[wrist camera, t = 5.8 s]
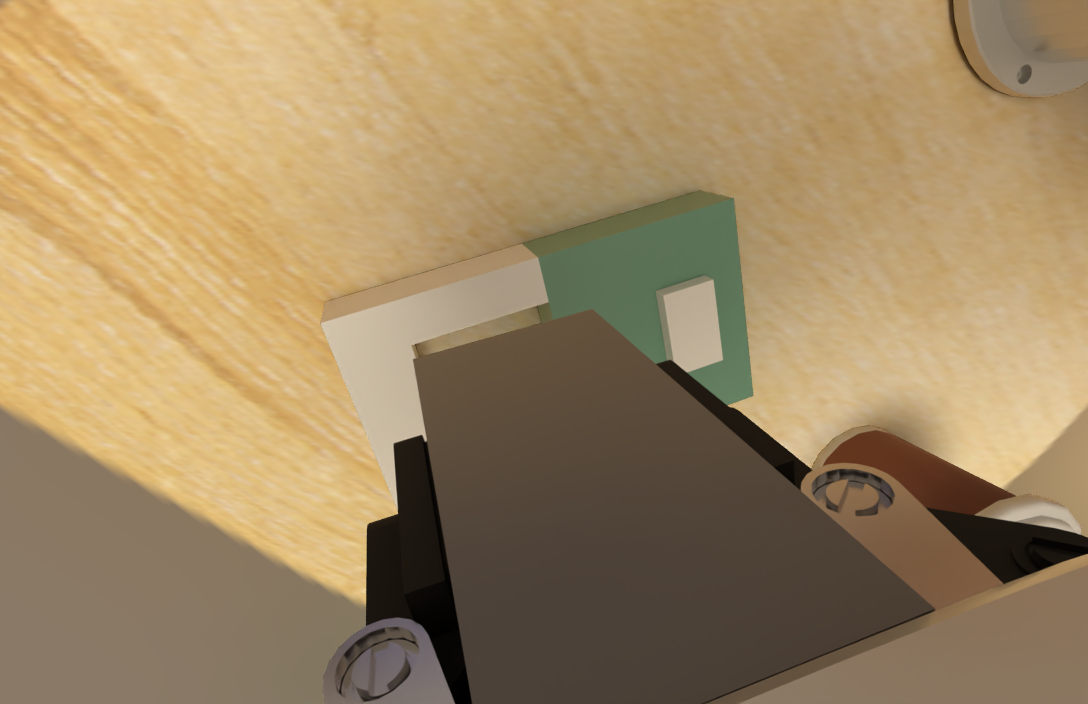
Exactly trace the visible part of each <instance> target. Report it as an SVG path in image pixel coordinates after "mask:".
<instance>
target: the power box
mask: <svg viewBox="0 0 1088 704" xmlns="http://www.w3.org/2000/svg"><path fill="white" fill-rule="evenodd" d="M535 306H537V307H538V311H539V315H540V319H541V323H544V322H547V321H551V320H554V319H558V318H561V317H565V316H568V315H572V314H576V313H579V312H583V311H586V310H590V309H593V310H594V311H596V312H597V313H598V314H599V315H600V316H601V317H602V318H604V319H605V320H606V321H607V322H608V323H609V324H610V325H612V326H613V327H614V328H615V329H616V330H617V331H618V332H620V333H621V334H622V335H623V336H624V337H625V338H626V339H628V340H629V341H630V342H631V343H632V344H633V345H634V346H636V347H637V348H638V349H639V350H640V351H641V352H642V353H644V354H645V355H646V356H647V357H648V358H649V359H650V360H652V361H653V362H654V363H655V364H657V363H660V362H664V361H667V360H672V361H673V362H675V363H676V364H677V365H678V366H680V367H681V368H682V369H683V370H684V371H686V372H687V373H688V374H689V375H691V376H692V377H693V378H694V379H695V380H697V381H698V382H699V383H700V384H702V385H703V386H704V387H705V388H706V389H708V390H709V391H710V392H711V393H713V394H714V395H715V396H716V397H717V398H719V399H720V400H721V401H722V402H724V403H725V404H726V405H729V404H732V403H735V402H738V401H740V400H743V399H746V398H749V397H752V396H753V388H752V378H751V367H750V357H749V347H748V337H747V327H746V317H745V307H744V297H743V287H742V276H741V266H740V256H739V246H738V236H737V226H736V216H735V206H734V198H730V197H726V196H722V195H717V194H713V193H709V192H704V191H697V192H693V193H690V194H686V195H683V196H680V197H676V198H673V199H670V200H666V201H663V202H660V203H656V204H653V205H649V206H646V207H643V208H639V209H636V210H633V211H629V212H626V213H623V214H619V215H616V216H612V217H609V218H606V219H602V220H599V221H596V222H592V223H589V224H586V225H582V226H579V227H576V228H572V229H569V230H565V231H562V232H559V233H555V234H552V235H549V236H545V237H542V238H539V239H535V240H532V241H528V242H525V243H522V244H518V245H515V246H512V247H508V248H505V249H502V250H498V251H495V252H491V253H488V254H485V255H481V256H478V257H475V258H471V259H468V260H465V261H461V262H458V263H455V264H451V265H448V266H444V267H441V268H438V269H434V270H431V271H428V272H424V273H421V274H418V275H414V276H411V277H407V278H404V279H401V280H397V281H394V282H391V283H387V284H384V285H381V286H377V287H374V288H370V289H367V290H364V291H360V292H357V293H354V294H350V295H347V296H344V297H340V298H337V299H334V300H330V301H327V302H325V305H324V309H323V314H322V318H321V322H320V324H321V327H322V329H323V331H324V334H325V336H326V339H327V341H328V343H329V346H330V348H331V351H332V353H333V355H334V358H335V360H336V363H337V365H338V367H339V370H340V372H341V375H342V377H343V380H344V382H345V384H346V387H347V389H348V392H349V394H350V396H351V399H352V401H353V404H354V406H355V408H356V411H357V413H358V416H359V418H360V420H361V423H362V425H363V428H364V430H365V433H366V435H367V437H368V440H369V442H370V445H371V447H372V449H373V452H374V454H375V457H376V459H377V461H378V464H379V466H380V469H381V471H382V473H383V476H384V478H385V481H386V483H387V486H388V488H389V490H390V493H391V495H392V498H393V500H394V502H395V505H396V507H397V510H398V505H397V491H396V476H395V462H394V448H393V443H396V442H399V441H403V440H406V439H409V438H413V437H416V436H419V435H423V438H424V440H425V441H427V438H426V433H425V427H424V421H423V415H422V410H421V404H420V398H419V392H418V386H417V381H416V375H415V369H414V363H413V359H415V358H419V355H418V352H417V349H416V346H415V344H417V343H421V342H424V341H427V340H430V339H433V338H436V337H440V336H443V335H446V334H449V333H452V332H456V331H459V330H462V329H465V328H468V327H471V326H475V325H478V324H481V323H484V322H487V321H490V320H494V319H497V318H500V317H503V316H506V315H510V314H513V313H516V312H519V311H522V310H525V309H529V308H532V307H535Z"/></svg>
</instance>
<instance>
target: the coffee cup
mask: <svg viewBox="0 0 1088 704" xmlns="http://www.w3.org/2000/svg"><path fill="white" fill-rule="evenodd" d="M837 463H852V464H861V465H865V466H869V467H874V468H876V469H878V470H880V471H883V472H885V473H887V474H889V475H890V476H892V477H893V478H894V479H896V480H897V481H898V482H899V483H900V484H901V485H903V486H904V487H905V488H906V489H907V490H908V491H909V492H910V493H911V494H912V495H913V496H914V497H915V498H916V499H917V500H918V501H919V502H920V503H921V504H922V505H923V506H924V507H926V508H932V509H939V510H945V511H951V512H957V513H964V514H970V515H976V516H983V517H989V518H995V519H1001V520H1008V521H1014V522H1020V523H1027V524H1033V525H1039V526H1045V527H1052V528H1057V529H1061V530H1065V531H1070V532H1074V533H1077V534H1080V535H1081V526H1080V525H1079V523H1078V522H1077V521H1076V520H1075V518H1074V517H1073V516H1072V514H1071V513H1070V512H1069V511H1068V509H1067V508H1066V507H1065V506H1063V505H1061V504H1060V503H1058V502H1056V501H1054V500H1052V499H1049V498H1045V497H1040V496H1037V495H1032V494H1025V495H1021V496H1015V495H1013V494H1011V493H1009V492H1007V491H1005V490H1003V489H1001V488H999V487H997V486H995V485H993V484H991V483H989V482H987V481H985V480H983V479H981V478H979V477H977V476H975V475H973V474H971V473H969V472H967V471H965V470H963V469H961V468H959V467H957V466H955V465H953V464H951V463H949V462H947V461H945V460H943V459H941V458H939V457H937V456H935V455H933V454H931V453H929V452H927V451H925V450H922V449H920V448H918V447H916V446H914V445H912V444H910V443H908V442H906V441H904V440H902V439H900V438H898V437H896V436H894V435H892V434H890V433H889V432H887V431H886V430H884V429H881V428H877V427H873V426H870V425H867V426H862V427H857V428H851V429H850V430H848V431H846V432H844V433H843V434H841V435H839V436H837V437H836V438H834V439H833V440H832V441H831V442H830V443H829V444H828V445H827V446H826V447H825V448H824V449H823V450H822V451H821V452H820V453H819V455H818V457H817V459H816V461H815V463H814V465H813V467H812V470H814V469H816V468H819V467H822V466H825V465H828V464H837Z"/></svg>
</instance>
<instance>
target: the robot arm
mask: <svg viewBox="0 0 1088 704" xmlns="http://www.w3.org/2000/svg"><path fill="white" fill-rule="evenodd" d="M953 3H954V18H955V23H956V27H957V31H958V36H959V40H960V44H961V46H962V48H963V50H964V52H965V55H966V57H967V59H968V61H969V63H970V65H971V66H972V67H973V69H974V70H975V71H976V73H977V74H978V75H979V76H980V78H981V79H982V80H984V81H985V82H986V83H987V84H989V85H990V86H991V87H993V88H994V89H995V90H997V91H1000V92H1003V93H1005V94H1008V95H1010V96H1017V97H1029V98H1030V97H1046V96H1056V95H1060V94H1063V93H1066V92H1070V91H1073V90H1075V89H1077V88H1079V87H1081V86H1082V85H1084V84H1086V83H1088V0H953ZM656 365H657V366H658V367H660V368H661V369H662V370H663V371H664V372H665V373H666V374H668V375H669V376H670V377H671V378H672V379H673V380H674V381H676V382H677V383H678V384H679V385H680V386H681V387H682V388H684V389H685V390H686V391H687V392H688V393H689V394H690V395H692V396H693V397H694V398H695V399H696V400H697V401H698V402H700V403H701V404H702V405H703V406H704V407H705V408H706V409H708V410H709V411H710V412H711V413H712V414H713V415H714V416H716V417H717V418H718V419H719V420H720V421H721V422H722V423H724V424H725V425H726V426H727V427H728V428H729V429H730V430H732V431H733V432H734V433H735V434H736V435H737V436H738V437H740V438H741V439H742V440H743V441H744V442H745V443H746V444H748V445H749V446H750V447H751V448H752V449H753V450H754V451H756V452H757V453H758V454H759V455H760V456H761V457H762V458H764V459H765V460H766V461H767V462H768V463H769V464H770V465H772V466H773V467H774V468H775V469H776V470H777V471H778V472H780V473H781V474H782V475H783V476H784V477H785V478H786V479H788V480H789V481H790V482H791V483H792V484H793V485H794V486H796V487H797V488H798V489H799V490H800V491H801V492H802V493H804V494H805V495H806V496H807V497H808V498H809V499H810V500H812V501H813V502H814V503H815V504H816V505H817V506H818V507H820V508H821V509H822V510H823V511H824V512H825V513H826V514H828V515H829V516H830V517H831V518H832V519H833V520H834V521H836V522H837V523H838V524H839V525H840V526H841V527H842V528H844V529H845V530H846V531H847V532H848V533H849V534H850V535H852V536H853V537H854V538H855V539H856V540H857V541H858V542H860V543H861V544H862V545H863V546H864V547H865V548H866V549H868V550H869V551H870V552H871V553H872V554H873V555H874V556H876V557H877V558H878V559H879V560H880V561H881V562H882V563H884V564H885V565H886V566H887V567H888V568H889V569H890V570H892V571H893V572H894V573H895V574H896V575H897V576H898V577H900V578H901V579H902V580H903V581H904V582H905V583H906V584H908V585H909V586H910V587H911V588H912V589H913V590H915V591H916V592H917V593H918V594H919V595H920V596H921V597H923V598H924V599H925V600H926V601H927V602H928V603H929V604H931V605H932V606H933V607H934V608H935V611H934V612H932V613H929V614H927V615H924V616H922V617H919V618H917V619H914V620H912V621H909V622H907V623H904V624H902V625H899V626H897V627H894V628H892V629H889V630H887V631H884V632H882V633H879V634H877V635H874V636H872V637H869V638H867V639H864V640H862V641H859V642H857V643H854V644H852V645H849V646H847V647H844V648H842V649H839V650H837V651H834V652H832V653H829V654H827V655H824V656H822V657H819V658H817V659H814V660H812V661H809V662H807V663H805V664H802V665H800V666H797V667H795V668H792V669H790V670H787V671H785V672H782V673H780V674H777V675H775V676H773V677H770V678H768V679H765V680H763V681H760V682H758V683H755V684H753V685H750V686H748V687H745V688H743V689H741V690H738V691H736V692H733V693H731V694H728V695H726V696H723V697H721V698H719V699H716V700H714V701H711V702H709V703H706V704H1088V538H1087V537H1085V536H1082V535H1080V534H1077V533H1074V532H1070V531H1065V530H1061V529H1057V528H1052V527H1045V526H1039V525H1033V524H1027V523H1020V522H1014V521H1008V520H1001V519H995V518H989V517H983V516H976V515H970V514H964V513H957V512H951V511H945V510H939V509H932V508H926V507H924V506H923V505H922V504H921V503H920V502H919V501H918V500H917V499H916V498H915V497H914V496H913V495H912V494H911V493H910V492H909V491H908V490H907V489H906V488H905V487H904V486H903V485H901V484H900V483H899V482H898V481H897V480H896V479H894V478H893V477H892V476H890V475H889V474H887V473H885V472H883V471H880V470H878V469H876V468H874V467H869V466H865V465H861V464H852V463H837V464H828V465H825V466H822V467H819V468H816V469H814V470H812V469H810V468H809V467H808V466H807V465H805V464H804V463H803V462H802V461H800V460H799V459H798V458H797V457H795V456H794V455H793V454H792V453H791V452H789V451H788V450H787V449H786V448H784V447H783V446H782V445H781V444H779V443H778V442H777V441H776V440H774V439H773V438H772V437H771V436H769V435H768V434H767V433H766V432H764V431H763V430H762V429H761V428H760V427H758V426H757V425H756V424H755V423H753V422H752V421H751V420H750V419H748V418H747V417H746V416H745V415H743V414H742V413H741V412H740V411H738V410H737V409H735V408H730V407H728V406H727V405H726V404H725V403H724V402H722V401H721V400H720V399H719V398H717V397H716V396H715V395H714V394H713V393H711V392H710V391H709V390H708V389H706V388H705V387H704V386H703V385H702V384H700V383H699V382H698V381H697V380H695V379H694V378H693V377H692V376H691V375H689V374H688V373H687V372H686V371H684V370H683V369H682V368H681V367H680V366H678V365H677V364H676V363H675V362H673V361H672V360H667V361H664V362H660V363H657V364H656ZM393 448H394V462H395V476H396V491H397V505H398V514H397V515H394V516H391V517H387V518H384V519H381V520H378V521H375V522H372V523H369V524H368V525H367V577H366V626H365V627H364V628H362V629H361V630H359V631H357V632H356V633H354V634H353V635H351V636H350V637H349V638H348V639H347V640H346V641H345V642H344V643H343V644H342V645H341V646H340V647H339V648H338V649H337V651H336V652H335V654H334V655H333V656H332V658H331V659H330V661H329V663H328V665H327V668H326V671H325V673H324V676H323V694H324V701H325V704H472V699H471V693H470V688H469V682H468V676H467V670H466V664H465V659H464V653H463V647H462V641H461V635H460V630H459V624H458V618H457V612H456V606H455V601H454V595H453V589H452V583H451V578H450V572H449V566H448V560H447V554H446V549H445V543H444V537H443V531H442V525H441V520H440V514H439V508H438V502H437V496H436V491H435V485H434V479H433V473H432V467H431V462H430V456H429V450H428V444H427V441H425V440H424V438H423V435H419V436H416V437H413V438H409V439H406V440H403V441H399V442H396V443H393Z"/></svg>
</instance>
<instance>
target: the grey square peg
mask: <svg viewBox="0 0 1088 704" xmlns="http://www.w3.org/2000/svg"><path fill="white" fill-rule="evenodd" d="M413 363H414V369H415V375H416V381H417V386H418V392H419V398H420V404H421V410H422V415H423V421H424V427H425V433H426V438H427V444H428V450H429V456H430V462H431V467H432V473H433V479H434V485H435V491H436V496H437V502H438V508H439V514H440V520H441V525H442V531H443V537H444V543H445V549H446V554H447V560H448V566H449V572H450V578H451V583H452V589H453V595H454V601H455V606H456V612H457V618H458V624H459V630H460V635H461V641H462V647H463V653H464V659H465V664H466V670H467V676H468V682H469V688H470V693H471V699H472V704H706V703H709V702H711V701H714V700H716V699H719V698H721V697H723V696H726V695H728V694H731V693H733V692H736V691H738V690H741V689H743V688H745V687H748V686H750V685H753V684H755V683H758V682H760V681H763V680H765V679H768V678H770V677H773V676H775V675H777V674H780V673H782V672H785V671H787V670H790V669H792V668H795V667H797V666H800V665H802V664H805V663H807V662H809V661H812V660H814V659H817V658H819V657H822V656H824V655H827V654H829V653H832V652H834V651H837V650H839V649H842V648H844V647H847V646H849V645H852V644H854V643H857V642H859V641H862V640H864V639H867V638H869V637H872V636H874V635H877V634H879V633H882V632H884V631H887V630H889V629H892V628H894V627H897V626H899V625H902V624H904V623H907V622H909V621H912V620H914V619H917V618H919V617H922V616H924V615H927V614H929V613H932V612H934V611H935V608H934V607H933V606H932V605H931V604H929V603H928V602H927V601H926V600H925V599H924V598H923V597H921V596H920V595H919V594H918V593H917V592H916V591H915V590H913V589H912V588H911V587H910V586H909V585H908V584H906V583H905V582H904V581H903V580H902V579H901V578H900V577H898V576H897V575H896V574H895V573H894V572H893V571H892V570H890V569H889V568H888V567H887V566H886V565H885V564H884V563H882V562H881V561H880V560H879V559H878V558H877V557H876V556H874V555H873V554H872V553H871V552H870V551H869V550H868V549H866V548H865V547H864V546H863V545H862V544H861V543H860V542H858V541H857V540H856V539H855V538H854V537H853V536H852V535H850V534H849V533H848V532H847V531H846V530H845V529H844V528H842V527H841V526H840V525H839V524H838V523H837V522H836V521H834V520H833V519H832V518H831V517H830V516H829V515H828V514H826V513H825V512H824V511H823V510H822V509H821V508H820V507H818V506H817V505H816V504H815V503H814V502H813V501H812V500H810V499H809V498H808V497H807V496H806V495H805V494H804V493H802V492H801V491H800V490H799V489H798V488H797V487H796V486H794V485H793V484H792V483H791V482H790V481H789V480H788V479H786V478H785V477H784V476H783V475H782V474H781V473H780V472H778V471H777V470H776V469H775V468H774V467H773V466H772V465H770V464H769V463H768V462H767V461H766V460H765V459H764V458H762V457H761V456H760V455H759V454H758V453H757V452H756V451H754V450H753V449H752V448H751V447H750V446H749V445H748V444H746V443H745V442H744V441H743V440H742V439H741V438H740V437H738V436H737V435H736V434H735V433H734V432H733V431H732V430H730V429H729V428H728V427H727V426H726V425H725V424H724V423H722V422H721V421H720V420H719V419H718V418H717V417H716V416H714V415H713V414H712V413H711V412H710V411H709V410H708V409H706V408H705V407H704V406H703V405H702V404H701V403H700V402H698V401H697V400H696V399H695V398H694V397H693V396H692V395H690V394H689V393H688V392H687V391H686V390H685V389H684V388H682V387H681V386H680V385H679V384H678V383H677V382H676V381H674V380H673V379H672V378H671V377H670V376H669V375H668V374H666V373H665V372H664V371H663V370H662V369H661V368H660V367H658V366H657V365H656V364H655V363H654V362H653V361H652V360H650V359H649V358H648V357H647V356H646V355H645V354H644V353H642V352H641V351H640V350H639V349H638V348H637V347H636V346H634V345H633V344H632V343H631V342H630V341H629V340H628V339H626V338H625V337H624V336H623V335H622V334H621V333H620V332H618V331H617V330H616V329H615V328H614V327H613V326H612V325H610V324H609V323H608V322H607V321H606V320H605V319H604V318H602V317H601V316H600V315H599V314H598V313H597V312H596V311H594V310H593V309H590V310H586V311H583V312H579V313H576V314H572V315H568V316H565V317H561V318H558V319H554V320H551V321H547V322H544V323H540V324H536V325H533V326H529V327H526V328H522V329H519V330H515V331H511V332H508V333H504V334H501V335H497V336H494V337H490V338H486V339H483V340H479V341H476V342H472V343H469V344H465V345H462V346H458V347H454V348H451V349H447V350H444V351H440V352H437V353H433V354H429V355H426V356H422V357H419V358H415V359H413Z"/></svg>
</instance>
